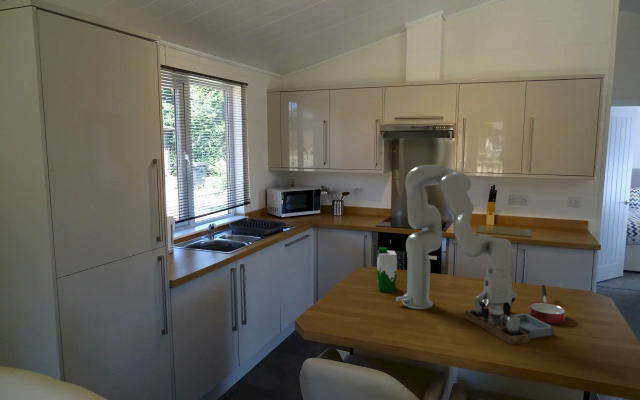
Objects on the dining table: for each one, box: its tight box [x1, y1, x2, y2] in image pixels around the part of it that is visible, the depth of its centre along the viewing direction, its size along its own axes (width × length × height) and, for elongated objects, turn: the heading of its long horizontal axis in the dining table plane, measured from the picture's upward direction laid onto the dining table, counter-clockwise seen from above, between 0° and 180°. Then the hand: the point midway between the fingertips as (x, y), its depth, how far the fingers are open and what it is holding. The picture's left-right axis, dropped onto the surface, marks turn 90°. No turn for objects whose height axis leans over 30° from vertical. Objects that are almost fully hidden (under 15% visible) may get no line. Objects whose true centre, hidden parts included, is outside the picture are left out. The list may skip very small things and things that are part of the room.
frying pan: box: [528, 284, 567, 325], centre depth 189 cm, size 32×13×6 cm, turn 163°
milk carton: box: [376, 246, 398, 293], centre depth 212 cm, size 9×9×20 cm
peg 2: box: [506, 314, 520, 337], centre depth 160 cm, size 4×4×8 cm
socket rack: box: [464, 309, 531, 346], centre depth 169 cm, size 8×26×2 cm, turn 18°
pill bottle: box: [488, 303, 505, 326], centre depth 169 cm, size 5×5×10 cm
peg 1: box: [473, 297, 487, 317], centre depth 177 cm, size 4×4×8 cm
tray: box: [503, 312, 555, 340], centre depth 169 cm, size 11×14×3 cm
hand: (495, 316), depth 169 cm, fingers open, 9 cm apart
